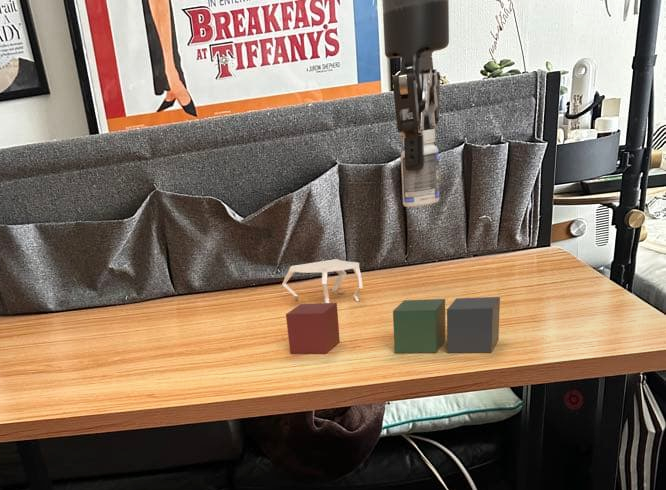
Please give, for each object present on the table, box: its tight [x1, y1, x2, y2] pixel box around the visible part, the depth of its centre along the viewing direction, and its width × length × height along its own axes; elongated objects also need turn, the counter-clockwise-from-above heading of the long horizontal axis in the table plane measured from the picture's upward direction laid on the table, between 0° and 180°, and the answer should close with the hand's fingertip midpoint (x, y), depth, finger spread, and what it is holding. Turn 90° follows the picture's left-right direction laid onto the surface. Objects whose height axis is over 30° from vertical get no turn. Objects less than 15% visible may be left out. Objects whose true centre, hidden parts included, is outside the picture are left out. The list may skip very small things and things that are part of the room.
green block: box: [392, 298, 446, 354], centre depth 76 cm, size 4×4×4 cm
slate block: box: [446, 296, 501, 354], centre depth 73 cm, size 4×4×4 cm
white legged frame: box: [281, 258, 364, 303], centre depth 101 cm, size 12×8×5 cm
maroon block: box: [285, 302, 341, 355], centre depth 81 cm, size 4×4×4 cm
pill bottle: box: [400, 128, 440, 208], centre depth 92 cm, size 5×5×8 cm
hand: (420, 166), depth 92 cm, fingers closed on pill bottle, 4 cm apart
